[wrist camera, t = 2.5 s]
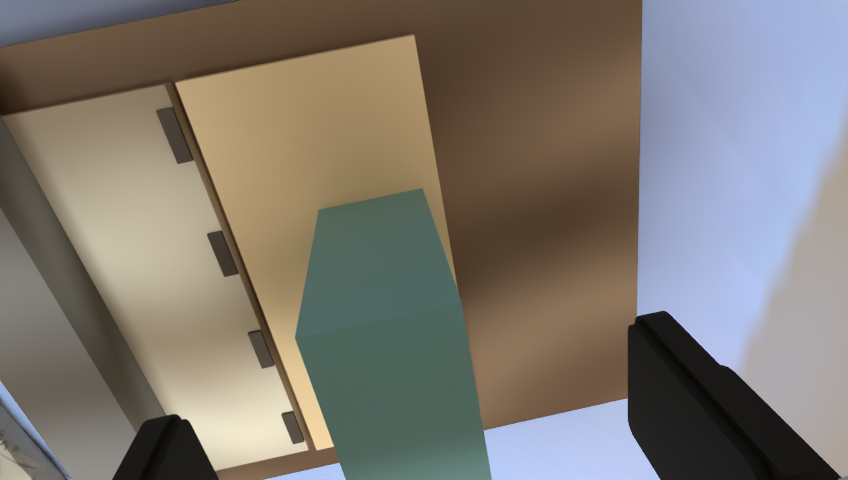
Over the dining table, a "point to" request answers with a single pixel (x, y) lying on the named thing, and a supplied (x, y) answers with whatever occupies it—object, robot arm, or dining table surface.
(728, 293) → the dining table surface
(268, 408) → the ticket board
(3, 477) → the packaged product
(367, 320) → the teal block on plate
